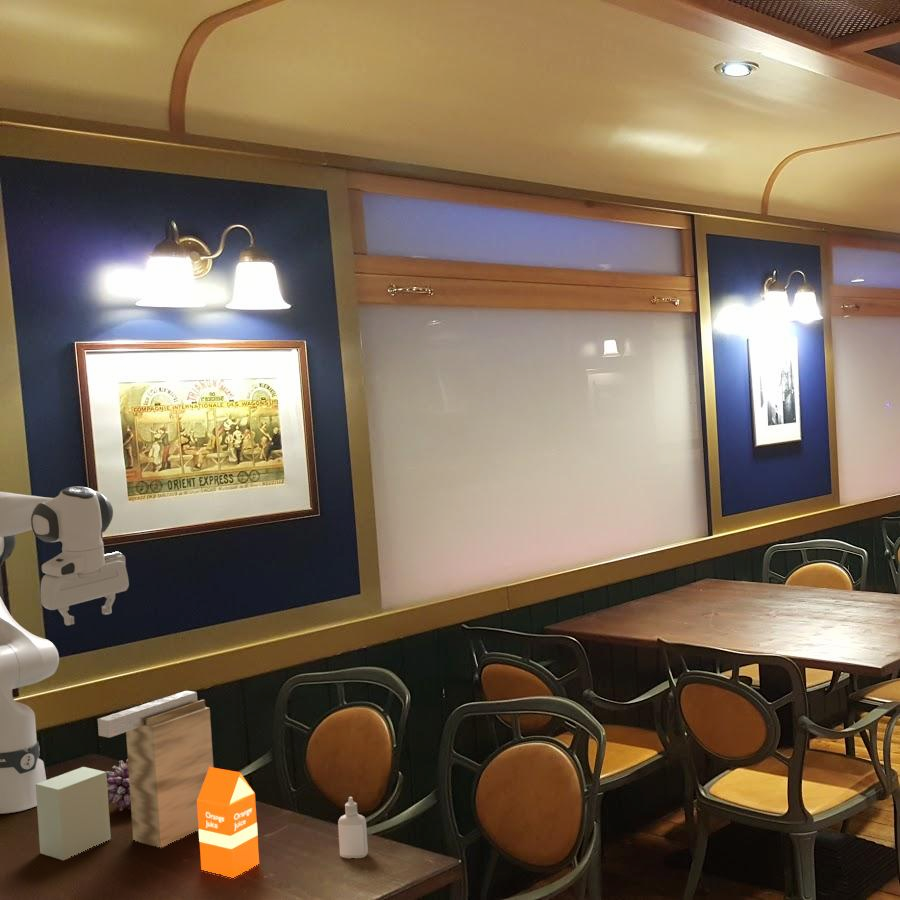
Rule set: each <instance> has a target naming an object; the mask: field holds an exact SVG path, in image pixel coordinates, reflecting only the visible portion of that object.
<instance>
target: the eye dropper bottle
mask: <svg viewBox="0 0 900 900" xmlns="http://www.w3.org/2000/svg"><path fill="white" fill-rule="evenodd" d="M353 799H354V798H353V797H352V796H349V797H348V801H347V802H346V803H345V804H344V807H345V809H344V812H345V814H343V815H341V816H340V817H339V819H338V822H337V826H338V827H337V829H338V844H339V845H338V847H339V855H340V857H341V858H343V859H351V858H355V859H362V858H365V857H366V856H367V855H368V852H369V851H368V850H369V849H368V848H369V847H368V845H369V844H368V830H367V820H366V818H365V816H363V814H359V813H358V803H357V802H355V801H354V800H353Z"/></svg>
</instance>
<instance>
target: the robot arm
mask: <svg viewBox="0 0 900 900" xmlns="http://www.w3.org/2000/svg"><path fill="white" fill-rule="evenodd" d="M113 516H114V510H113V505H112V503H111V501H110V500H109V498H107V497H106V496H105V495H103V494H102V493H101V492H99V491H98V490H93V489H92V488H89V487H85V486H70V487H65V488H64V489H62V490H61V491H60V492H59V493H58V495H57V496H55V497H44V496H37V495H30V494H29V495H28V494H21V493H13V492H7V491H0V568H1V567H2V566H3V564H4V562H5V561H6V560H8V559H9V558H10V557H11V555H12V553H13V551H14V550H15V548H16V541H17V539H16V535H19V534H22V533H26V532H29V531H32V532H33V534H34V535H35V536H36V537H37V538H38V539H40V540H41V541H43V542H44V543H56V542H61V544H62V547H61V551H62V552H61V553H59V554H57V555H56V556H54V557H53V558H51V559H49V560H47V561H46V562H44V563H43V564H42V565H41V571H42V573H44V575H43V576H42V578H41V581H40V602H41V606H43V607H44V609H47V610H50V611H56V610H58V612H59V613H60V615H61V616H62V617H63V622H64V625H65V626H71V625H75V615H74V616H73V615H71V614H69V612H68V611H69V610H70V606H73V605H77V604H80V603H81V604H82V603H85V602H89V601H92V600H95V599H97V600H98V599H101V598H103V597H104V598H105V599H106V600H105V602H104V605H101V613H102V615H105V616H106V615H110V614H113V613H112V612H113V611H112V610H113V609H112V607H113V604H114V602H115V600H116V594H120V593H122V592H126V591H127V590H128V589H129V587H130V582H129V576H128V575H129V574H128V570H127V566H126V556H125V555H124V553H121V552H119V551H115V552H114V551H113V552H112V553H106V554H105V548H104V545H105V544H104V541H103V538H102V533H104V532H106V530H107V529H108V528H109V526H110V524H111V522H112V521H113ZM59 655H60V654H59V651H58V649H57V647H56V645H55V644H54V643H53V642H52V641H50V640H49V639H46V638H44V637H41V636H38V635H35V634H33V633H32V632H30V631H28V630H27V629H25V628H24V627H23V626H21V625H20V624H19V623H18V622H17V621H16V620H15V619H14V618H13V616H12V615H11V614H10V612H9V610H8V609H7V606H6V605H5V603H4V601H3V599H2V597H1V596H0V814H2V815H3V814H10V813H16V812H17V813H18V812H22V811H26V810H28V809H32V808H34V807H35V808H36V807H37V798H36V784H37V783H40V782H42V781H45V780H47V776H46V775H47V774H46V770H45V763H44V761H43V760H42V759H41V758H39V757H40V756H41V753H40V752H41V751H40V750H41V749H40V744H39V742H40V741H38V740H37V725H36V724H37V723H36V714H35V712H34V710H33V709H32V708H31V706H29V705H27V704H25V703H21V702H18V701H15V700H14V696H13V690H15V689H18V688H22V687H26V686H30V685H34V684H37V683H39V682H41V681H44V680H46V679H48V678H50V677H52V676H53V675H54V674H55V673H56V672H57V669H58V668H59V663H60V656H59Z"/></svg>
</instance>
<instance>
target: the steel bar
mask: <svg viewBox="0 0 900 900" xmlns="http://www.w3.org/2000/svg"><path fill="white" fill-rule="evenodd" d="M197 701H198V693H197V691H190V690H184V691H181V692H177V693H175V694H174V693H173V694H172V695H169V696H164V697H162V698H158V699H156V700H155V699H154V700H152V701H150V702H149V701H148V702H147V703H144V704H141V705H140V704H139V705H137V706H134V707H131V708H127V709H125V710H121V711H118V712H116V713H115V712H114V713H112V714H109V715H106V716H102V717H100V718H97V727H98V728H97V729H98V730H97V731H98V736H99V737H103V738H113V737H116V736H118V735H122V734H126V732H128V731H131V730H133V729H136V728H139V727H142V726H145V725H146V718H149V717H152V716H155V715H158V714H161V713H164V712H167V711H170V710H173V709H176V708H179V707H182V706H185V705H188V704H191V703H194V702H197Z"/></svg>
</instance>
